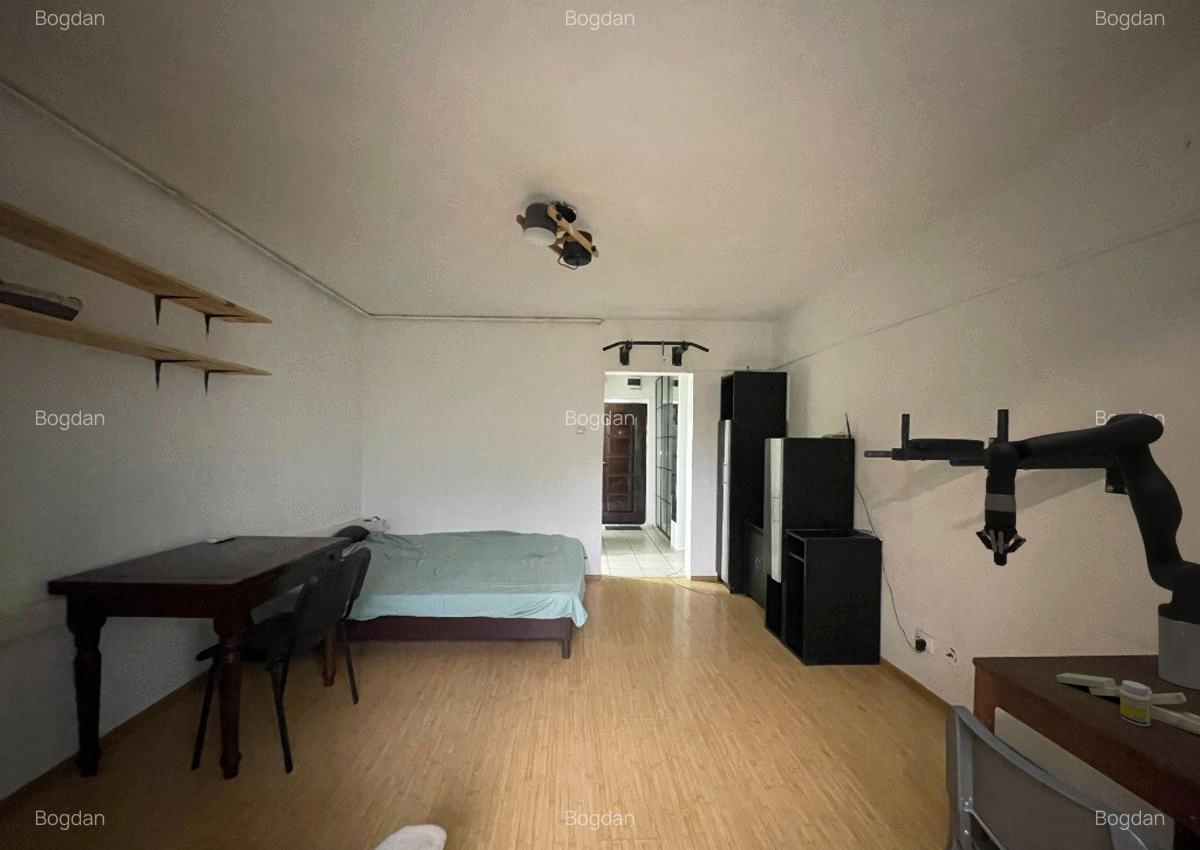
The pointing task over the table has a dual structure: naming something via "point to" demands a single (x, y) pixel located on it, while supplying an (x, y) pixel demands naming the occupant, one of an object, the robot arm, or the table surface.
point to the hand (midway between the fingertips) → (1000, 565)
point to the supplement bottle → (1135, 703)
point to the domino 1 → (1086, 680)
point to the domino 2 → (1110, 691)
